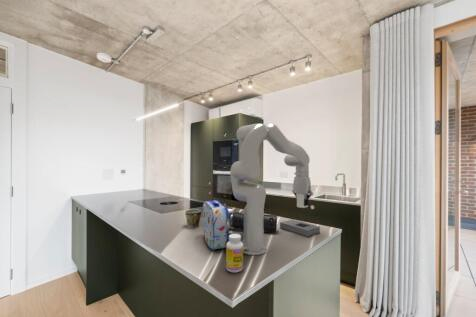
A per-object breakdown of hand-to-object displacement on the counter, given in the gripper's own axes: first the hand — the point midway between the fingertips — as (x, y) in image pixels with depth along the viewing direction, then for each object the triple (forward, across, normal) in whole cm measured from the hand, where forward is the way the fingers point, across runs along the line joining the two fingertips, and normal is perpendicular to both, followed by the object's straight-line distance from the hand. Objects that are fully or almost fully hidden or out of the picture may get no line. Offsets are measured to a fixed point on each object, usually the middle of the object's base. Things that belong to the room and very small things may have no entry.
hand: (302, 204), depth 129 cm
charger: (+1, 0, 0) cm, 1 cm away
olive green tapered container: (+16, -47, -48) cm, 69 cm away
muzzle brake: (+16, -19, -22) cm, 34 cm away
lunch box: (+16, -16, -51) cm, 56 cm away
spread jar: (+16, -34, -33) cm, 50 cm away
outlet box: (+16, -2, 0) cm, 16 cm away
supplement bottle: (+16, +11, -59) cm, 62 cm away
